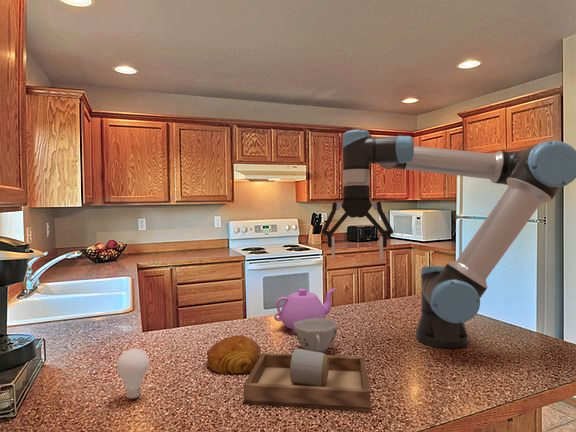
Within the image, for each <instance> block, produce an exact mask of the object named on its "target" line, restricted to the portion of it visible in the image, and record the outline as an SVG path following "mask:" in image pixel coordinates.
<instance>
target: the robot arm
mask: <svg viewBox="0 0 576 432" xmlns="http://www.w3.org/2000/svg"><path fill="white" fill-rule="evenodd" d="M375 164H376V165H379V166H380V167H381V168H383V169H385V170H393V169H396V170H406V171H414V172H415V171H416V172H425V173H433V174H441V175H451V176H458V177H460V176H461V177H468V178H475V179H484V180H485V179H486V180H489V181H490V182H491V183H493V184H499V185H506V186H507V189H506V190H505V192H504V193H503V194H502V196H501V197H500V199H499V200H498V201H497V203H496V204H495V205H494V207H493V209H492V210H491V212H490V213H489V214H488V215H487V216H486V218H485V220H484V221H483V223H481V225H480V227H479V228H478V230H477V231H476V233H475V234H474V236H473V237H472V238H471V240H470V241H469V242H468V244H467V245H466V247H465V248H464V249H463V251H462V252H461V254H460V255H459V257H458V258H457V259H456V260H455V261H451V262H450V261H449V262H447V263H446V265H444V266H443V265H441V266H440V265H439V266H437V265H436V266H435V265H432V266H431V265H430V266H429V265H427V266H423V267H422V268H421V274H420V278H421V288H420V289H421V313H420V314H421V315H420V317H419V320H418V324H417V326H416V329H415V339H416V340H417V341H418V342H420V343H421V344H424V345H427V346H431V347H433V348H434V347H436V348H441V349H459V348H463V347H467V345H468V344H469V334H468V331H467V328H466V325H465V323H466V322H468V321H470V320H472V319H474V317H476V315H477V314H478V312H479V310H480V307H481V298H482V296H483V295H484V294H485V292H486V291H487V289H488V284H487V278H488V277H489V276H490V275H491V273H492V272H493V270H494V268H495V267H496V266H497V265H498V264H499V262H500V261H501V259H502V257H504V255H505V254H506V252H507V251H508V249H510V247H511V245H512V244H513V243H514V241H515V240H516V239H517V237H518V236H519V234H520V233H521V232H522V230H523V229H524V228H525V226H526V225H527V224H528V223H529V221H530V219H532V216H533V215H534V214H535V213H536V211H537V209H538V208H539V207H540V205H542V204H546V203H551V201H552V200H553V199H554V197H556V194H557V193H558V192H559V190H561V188H562V187H563V188H564V187H566V186H567V185H569V184H571V183H572V182H573V181H575V180H576V149H575V148H574V147H573V146H572V145H570V144H568V143H566V142H563V141H560V140H549V141H542V142H540V143H537V144H536V145H533V146H531V147H528V148H525V149H520V150H513V151H506V150H504V151H503V150H499V151H498V150H497V152H495V153H489V152H487V153H486V152H481V151H479V152H477V151H468V150H459V149H458V150H457V149H451V148H450V149H447V148H439V147H437V148H436V147H428V146H418V145H415V144H414V139H413V137H412V136H410V135H396V136H395V135H393V136H392V135H391V136H377V137H375V136H371V135H370V131H369V130H366V129H351V130H347V131H345V132H344V133H343V136H342V183H343V185H344V186H343V187H342V192H343V193H342V194H343V195H342V197H343V198H342V199H343V201H342V203H339V202H332V206H331V207H332V208H331V211H330V213H329V216H328V217H327V218H326V222H325V223H324V226H323V228H322V229H321V231H320V232H321V234H322V235H323V236H324V235H325V236H326V237H327V247H328V248H331V260H335V259H336V256H335V255H336V253H335V252H336V251H335V249H336V247H335V244H336V243H335V241H336V240H335V235H334V233H335V232H336V231H337V230H338V228H339V227H340V226H341V225H342V224H343V222H344V221H346V219H347V217H349V218H354V219H355V218H364V217H366V218H367V220H368V221H369V222H370V223H371V224H372V225H373V226H374V227H375V228H376V229H377V230H378V232H379V233H380V234H381V235H379V241H378V244H379V246H378V248H379V254H378V255H379V260H382V261H383V260H384V248H385V249H386V248H387V246H388V237H389V236H390V235H392V234H394V229H393V227H392V226H391V224H390V222H389V220H388V218H387V216H386V214H385V212H384V210H383V208H382V202H381V201H377V202H371V196H370V195H371V193H370V191H371V187H370V186H369V184H370V183H371V179H370V176H371V175H370V173H371V172H370V165H375ZM340 208H342V209H343V211H344V214H343V215H341V217H340V218H339V219H338V220H337V222H336V223H334V225H333V227H332V228H331V229H330V230H328V229H329V227H330V225H331V223H332V221H333V218H334V216H335V215H336V212H337V211H339V209H340ZM371 208H373V209H374V210H376V211H377V214H378V215H379V217H380V218H381V221H382V222H383V225H384V227H385V228H386V230H385V229H383V227H382V226H381V225H380V224H379V223H378V221H377V220H376V219H375V218H374V217H373V216H372V214H370V212H369V211H370V210H371Z"/></svg>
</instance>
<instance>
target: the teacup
mask: <svg viewBox="0 0 576 432" xmlns="http://www.w3.org/2000/svg"><path fill="white" fill-rule="evenodd" d="M294 329H295V334H294V335H295V336H296V340H297V341H298V342H299V344H300V345H301V347H302V349H303V350H309V351H314V352H321V353H325V352H326V351H327V350H328V349H329V348H330V347H331V345H332V344H333V342H334V340H335V338H336V335H337V330H338V324H337V322H336V321H335V320H333V319H329V318H327V317H326V318H324V319H323V318H309V319H303V320H301V321H297V322H295V323H294Z"/></svg>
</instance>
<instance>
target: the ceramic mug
mask: <svg viewBox="0 0 576 432" xmlns="http://www.w3.org/2000/svg"><path fill="white" fill-rule="evenodd" d="M291 354H292V358H291V364H290V380H291V382H292V383H296V384H305V385H314V386H323V385H325V384H326V382H327V378H328V371H329V358H328V356H329V355H328V354H326V353H325V352H323V353H321V352H314V351H309V350H306V349H304V348H296V347H295V349H294V350H293V352H292V353H291Z"/></svg>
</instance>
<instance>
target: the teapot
mask: <svg viewBox="0 0 576 432" xmlns="http://www.w3.org/2000/svg"><path fill="white" fill-rule="evenodd" d="M336 289H337V288H336V287H334V288H331V289H329V290H328V291H327V292H326V296H325V301H324V303H322V302H321V300H320V298H319V297H318V295H317V294H316V293H314V292H309V291H308V289H306V288H299V289H297V291H298V292H292V293H290V294H289V295H288V296H281V297H279V298H278V299H277V300H276V303H275V305H276V310H277V313H275V314H274V316H273V319H274V320H275V321H276V322H282V324H283V325H284V326H285V327H286V328H289V329H291V334H293V335H296V334H295V329H294V323H295V322H297V321H301V320H303V319H309V318H323V319H324V318H327V317H326V316H327V315H329V313H330V312H331V308H332V296H333V293H334V292H335V291H336ZM281 301H284V303H283V305H282V307H280V302H281ZM277 316H278V317H277Z"/></svg>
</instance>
